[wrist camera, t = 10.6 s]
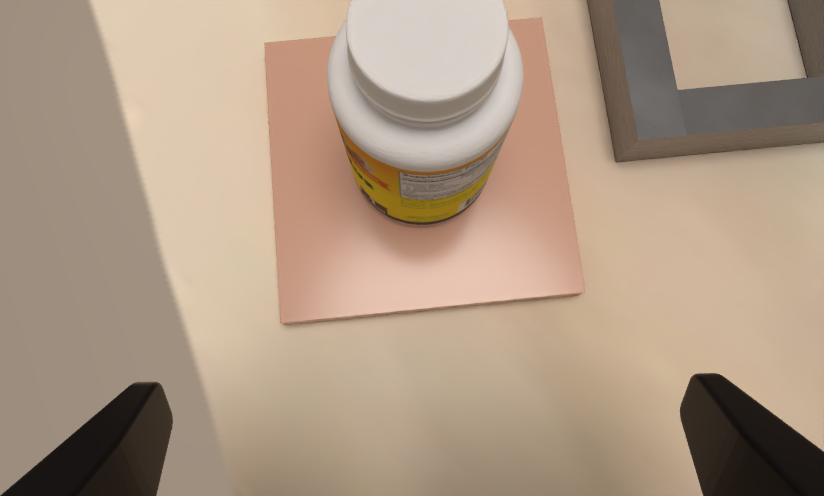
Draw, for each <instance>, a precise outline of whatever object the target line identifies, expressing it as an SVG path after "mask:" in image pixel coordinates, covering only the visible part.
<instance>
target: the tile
mask: <svg viewBox="0 0 824 496" xmlns="http://www.w3.org/2000/svg"><path fill="white" fill-rule="evenodd" d="M508 26H509V28H510V30H511V31H512V33H513V35H514V37H515V39H516V41H517V44H518V46H519V49H520V53H521V57H522V62H523V71H524V82H523V91H522V96H521V100H520V104H519V107H518V110H517V113H516V115H515V118H514V120H513V122H512V125H511V127H510V129H509V132H508V134H507V136H506V138H505V141H504V143H503V146H502V148H501V150H500V152H499V155H498V157H497V160H496V162H495V164H494V166H493V169H492V171H491V173H490V175H489V177H488V180H487V182H486V184H485V186H484V188H483V190H482V192H481V194H480V195H479V196H478V198H477V199H476V200H475V201H474V203H473V204H472V205H471V206H470V207H469V208H468V209H466V210H465V211H464V212H463V213H461V214H460V215H458V216H456V217H455V218H453V219H450V220H448V221H445V222H443V223H439V224H435V225H428V226H415V225H408V224H404V223H400V222H397V221H395V220H392V219H390V218H388V217H386V216H385V215H383V214H382V213H380V212H379V211H378V210H376V209H375V208H374V207H373V206H372V205H371V204H370V203H369V202H368V201H367V199H366V198H365V197H364V195H363V194H362V192H361V191H360V189H359V187H358V185H357V182H356V180H355V177H354V174H353V171H352V168H351V165H350V162H349V159H348V156H347V153H346V150H345V146H344V143H343V140H342V137H341V134H340V131H339V128H338V124H337V121H336V118H335V115H334V112H333V109H332V106H331V102H330V98H329V92H328V85H327V66H328V60H329V55H330V51H331V48H332V44H333V42H334V40H335V37H336V36H333V37H322V38H311V39H300V40H289V41H278V42H267V43H264V45H265V62H266V80H267V97H268V114H269V132H270V149H271V166H272V184H273V201H274V218H275V236H276V253H277V271H278V288H279V305H280V323H282V324H285V325H289V324H298V323H308V322H318V321H328V320H338V319H348V318H357V317H367V316H377V315H387V314H397V313H406V312H416V311H426V310H436V309H446V308H456V307H465V306H475V305H485V304H495V303H505V302H515V301H524V300H534V299H544V298H554V297H564V296H574V295H580V294H582V293H585V292H586V291H585V285H584V279H583V272H582V266H581V260H580V254H579V247H578V241H577V235H576V229H575V222H574V216H573V210H572V204H571V197H570V191H569V185H568V179H567V172H566V166H565V160H564V154H563V147H562V141H561V135H560V129H559V122H558V116H557V110H556V104H555V97H554V91H553V85H552V79H551V72H550V66H549V60H548V54H547V47H546V41H545V35H544V29H543V22H542V17H541V18H530V19H519V20H508Z"/></svg>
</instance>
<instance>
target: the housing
mask: <svg viewBox="0 0 824 496" xmlns="http://www.w3.org/2000/svg"><path fill="white" fill-rule="evenodd" d="M587 1H588V7H589V13H590V18H591V24H592V30H593V35H594V41H595V46H596V52H597V58H598V63H599V69H600V74H601V80H602V86H603V91H604V97H605V103H606V108H607V114H608V119H609V125H610V131H611V136H612V142H613V147H614V153H615V159H616V162H622V161H632V160H642V159H653V158H663V157H673V156H683V155H694V154H704V153H714V152H725V151H735V150H745V149H756V148H766V147H776V146H787V145H797V144H807V143H817V142H824V0H788V2H789V6H790V10H791V14H792V17H793V21H794V25H795V29H796V33H797V37H798V41H799V45H800V49H801V53H802V57H803V61H804V65H805V69H806V73H807V77H808V78H802V79H791V80H780V81H770V82H759V83H749V84H738V85H727V86H717V87H706V88H696V89H685V90H677V86H676V81H675V76H674V71H673V66H672V61H671V56H670V51H669V46H668V42H667V37H666V32H665V27H664V22H663V17H662V12H661V7H660V2H659V0H587Z"/></svg>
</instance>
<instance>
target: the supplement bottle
mask: <svg viewBox="0 0 824 496" xmlns="http://www.w3.org/2000/svg"><path fill="white" fill-rule="evenodd" d="M523 82H524V71H523V62H522V57H521V53H520V49H519V46H518V44H517V41H516V39H515V37H514V35H513V33H512V31H511V30H510V28H509V26H508V17H507V12H506V9H505V5H504V3H503V1H502V0H351V3H350V5H349V9H348V12H347V19H346V21H345V22H344V23H343V25H342V27H341V28H340V30H339V32H338V33H337V35H336V37H335V40H334V42H333V44H332V48H331V51H330V55H329V60H328V66H327V85H328V92H329V98H330V102H331V106H332V109H333V112H334V115H335V118H336V121H337V124H338V128H339V131H340V134H341V137H342V140H343V143H344V146H345V150H346V153H347V156H348V159H349V162H350V165H351V168H352V171H353V174H354V177H355V180H356V182H357V185H358V187H359V189H360V191H361V192H362V194H363V195H364V197H365V198H366V199H367V201H368V202H369V203H370V204H371V205H372V206H373V207H374V208H375V209H376V210H378V211H379V212H380V213H382V214H383V215H385V216H386V217H388V218H390V219H392V220H395V221H397V222H400V223H404V224H408V225H415V226H428V225H435V224H439V223H443V222H445V221H448V220H450V219H453V218H455V217H456V216H458V215H460V214H461V213H463V212H464V211H465V210H466V209H468V208H469V207H470V206H471V205H472V204H473V203H474V201H475V200H476V199H477V198H478V196H479V195H480V194H481V192H482V190H483V188H484V186H485V184H486V182H487V180H488V177H489V175H490V173H491V171H492V169H493V166H494V164H495V162H496V160H497V157H498V155H499V152H500V150H501V148H502V146H503V143H504V141H505V138H506V136H507V134H508V132H509V129H510V127H511V125H512V122H513V120H514V118H515V115H516V113H517V110H518V107H519V104H520V100H521V96H522V91H523Z"/></svg>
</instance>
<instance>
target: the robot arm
mask: <svg viewBox="0 0 824 496" xmlns="http://www.w3.org/2000/svg"><path fill="white" fill-rule="evenodd" d="M680 417H681V422H682V425H683V428H684V432H685V435H686V439H687V442H688V445H689V449H690V452H691V456H692V459H693V463H694V466H695V469H696V473H697V476H698V480H699V483H700V486H701V490H702V493H703V496H824V451H822V450H821V449H820V448H818V447H817V446H816V445H814V444H813V443H812V442H810V441H809V440H808V439H806V438H805V437H804V436H802V435H801V434H800V433H798V432H797V431H796V430H794V429H793V428H792V427H790V426H789V425H788V424H786V423H785V422H784V421H782V420H781V419H780V418H778V417H777V416H776V415H774V414H773V413H772V412H770V411H769V410H768V409H766V408H765V407H764V406H762V405H761V404H760V403H758V402H757V401H756V400H754V399H753V398H752V397H750V396H749V395H748V394H746V393H745V392H744V391H742V390H741V389H740V388H738V387H737V386H736V385H734V384H733V383H732V382H730V381H729V380H728V379H726V378H725V377H723V376H722V375H720V374H716V373H700V374H694V375H693V376H692V377H691V379H690V381H689V384H688V387H687V390H686V392H685V395H684V398H683V401H682V403H681V407H680ZM172 419H173V418H172V412H171V409H170V407H169V404H168V401H167V398H166V395H165V392H164V390H163V388H162V385H161V384H160V383H158V382H136V383H133V384H132V385H130V386H129V387H128V388H126V389H125V390H124V391H123V392H122V393H121V394H119V395H118V396H117V397H116V398H115V399H114V400H112V401H111V402H110V403H109V404H108V405H106V406H105V407H104V408H103V409H102V410H101V411H99V412H98V413H97V414H96V415H95V416H94V417H92V418H91V419H90V420H89V421H88V422H87V423H85V424H84V425H83V426H82V427H81V428H80V429H78V430H77V431H76V432H75V433H74V434H72V435H71V436H70V437H69V438H68V439H66V440H65V441H64V442H63V443H62V444H61V445H59V446H58V447H57V448H56V449H55V450H54V451H52V452H51V453H50V454H49V455H48V456H46V457H45V458H44V459H43V460H42V461H40V462H39V463H38V464H37V465H36V466H35V467H33V468H32V469H31V470H30V471H29V472H28V473H26V474H25V475H24V476H23V477H22V478H21V479H20V480H18V481H17V482H16V483H15V484H13V485H12V486H11V487H10V488H9V489H8V490H6V491H5V492H4V493H3V494H2V495H0V496H156V494H157V490H158V486H159V482H160V477H161V473H162V469H163V464H164V460H165V456H166V452H167V447H168V443H169V439H170V434H171V430H172V424H173V420H172Z"/></svg>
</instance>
